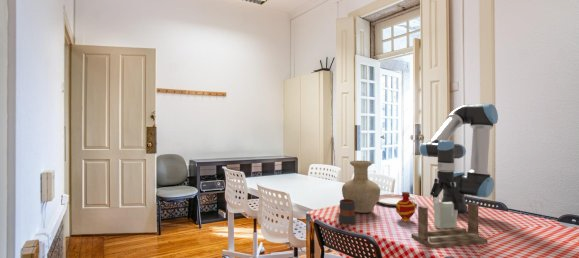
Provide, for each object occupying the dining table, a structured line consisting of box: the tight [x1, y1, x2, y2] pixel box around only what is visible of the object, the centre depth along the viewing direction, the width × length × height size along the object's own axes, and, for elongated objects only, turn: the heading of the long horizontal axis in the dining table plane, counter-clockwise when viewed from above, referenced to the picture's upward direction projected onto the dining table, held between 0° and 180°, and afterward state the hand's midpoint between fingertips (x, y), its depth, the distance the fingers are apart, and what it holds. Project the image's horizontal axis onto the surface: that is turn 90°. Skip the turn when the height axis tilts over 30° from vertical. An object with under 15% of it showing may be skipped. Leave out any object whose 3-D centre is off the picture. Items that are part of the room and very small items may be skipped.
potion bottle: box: [395, 191, 417, 222], centre depth 176 cm, size 10×10×15 cm
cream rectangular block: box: [433, 201, 458, 230], centre depth 164 cm, size 10×4×12 cm, turn 103°
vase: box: [341, 160, 381, 214], centre depth 194 cm, size 22×22×30 cm
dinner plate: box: [377, 193, 417, 207], centre depth 217 cm, size 28×27×3 cm
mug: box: [338, 198, 356, 226], centre depth 173 cm, size 9×12×12 cm
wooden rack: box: [411, 202, 488, 249], centre depth 145 cm, size 28×14×16 cm, turn 103°
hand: (445, 212), depth 164 cm, fingers open, 13 cm apart
